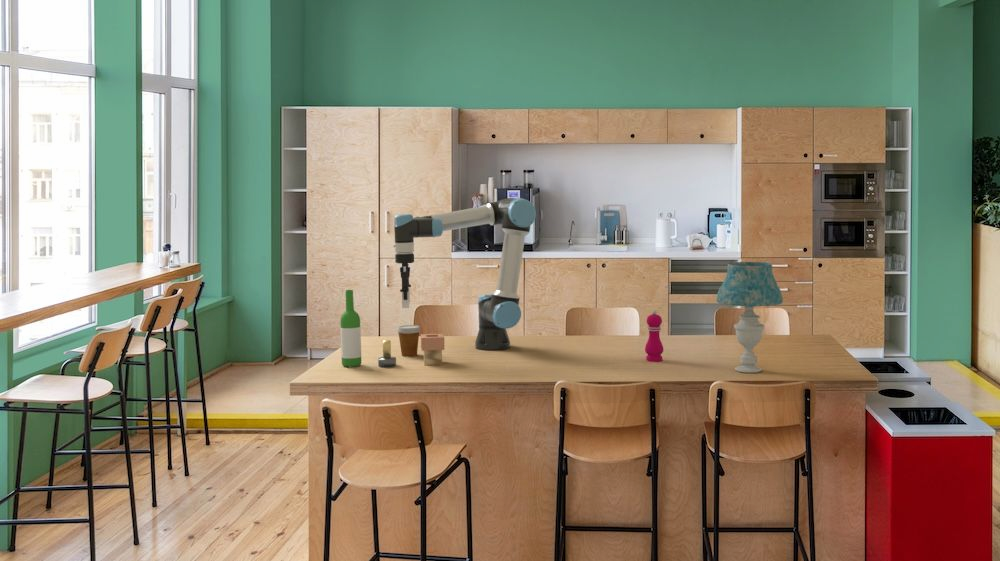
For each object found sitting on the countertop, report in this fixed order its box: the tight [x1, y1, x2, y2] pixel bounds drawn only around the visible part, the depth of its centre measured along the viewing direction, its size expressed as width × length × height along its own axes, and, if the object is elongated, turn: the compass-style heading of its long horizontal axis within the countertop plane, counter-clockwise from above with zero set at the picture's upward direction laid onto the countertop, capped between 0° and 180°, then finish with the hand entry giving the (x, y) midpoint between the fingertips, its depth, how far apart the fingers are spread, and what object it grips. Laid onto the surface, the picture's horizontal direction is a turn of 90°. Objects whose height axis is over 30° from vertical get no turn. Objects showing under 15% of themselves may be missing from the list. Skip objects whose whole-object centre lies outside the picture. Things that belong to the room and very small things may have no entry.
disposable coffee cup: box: [396, 324, 421, 357], centre depth 410 cm, size 10×10×12 cm
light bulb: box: [377, 339, 397, 369], centre depth 388 cm, size 7×7×10 cm
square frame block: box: [420, 333, 445, 352], centre depth 392 cm, size 9×9×5 cm
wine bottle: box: [339, 289, 362, 368], centre depth 389 cm, size 8×8×30 cm
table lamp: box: [716, 261, 784, 374], centre depth 366 cm, size 24×24×40 cm
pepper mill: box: [644, 310, 664, 363], centre depth 390 cm, size 7×7×20 cm
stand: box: [423, 350, 443, 366], centre depth 392 cm, size 7×7×6 cm
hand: (406, 305), depth 397 cm, fingers open, 13 cm apart
